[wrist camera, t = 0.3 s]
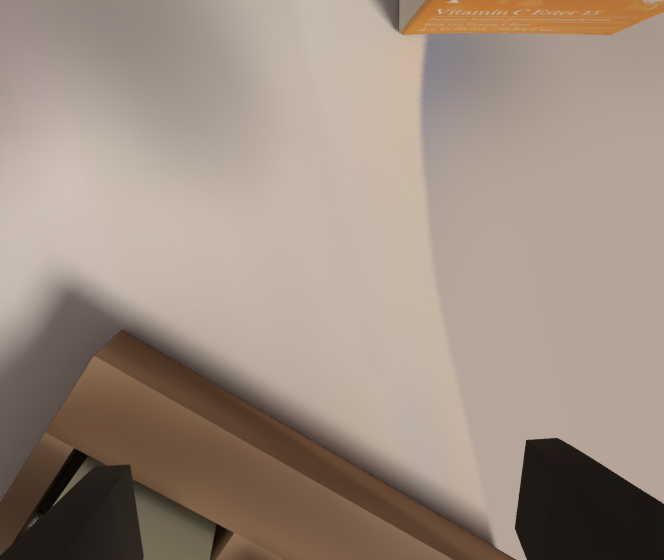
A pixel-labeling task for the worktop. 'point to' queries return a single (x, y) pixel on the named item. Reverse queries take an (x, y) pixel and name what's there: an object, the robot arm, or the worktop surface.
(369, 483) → the slotted board
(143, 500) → the block
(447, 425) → the worktop surface
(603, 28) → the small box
